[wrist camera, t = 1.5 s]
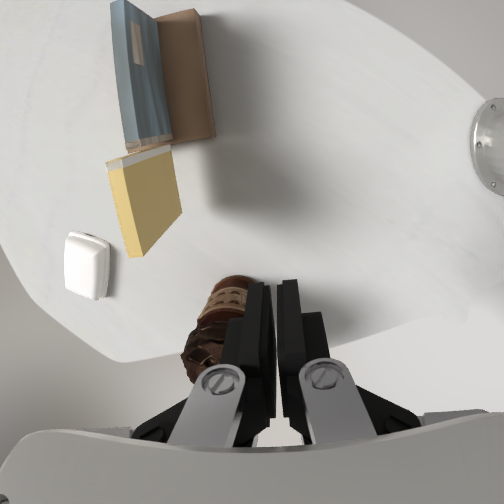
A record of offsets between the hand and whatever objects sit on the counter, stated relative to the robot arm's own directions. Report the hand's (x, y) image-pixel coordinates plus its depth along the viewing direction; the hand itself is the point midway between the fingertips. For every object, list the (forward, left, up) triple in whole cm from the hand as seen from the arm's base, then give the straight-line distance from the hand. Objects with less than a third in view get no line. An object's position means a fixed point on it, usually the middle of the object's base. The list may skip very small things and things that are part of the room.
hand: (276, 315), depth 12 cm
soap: (+26, +7, -24) cm, 36 cm away
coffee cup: (+6, +13, -23) cm, 27 cm away
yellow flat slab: (+10, -3, -20) cm, 22 cm away
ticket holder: (+10, -13, -23) cm, 28 cm away
